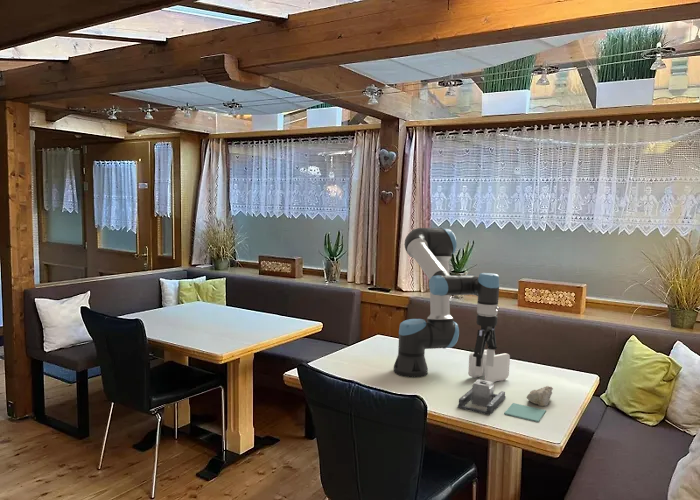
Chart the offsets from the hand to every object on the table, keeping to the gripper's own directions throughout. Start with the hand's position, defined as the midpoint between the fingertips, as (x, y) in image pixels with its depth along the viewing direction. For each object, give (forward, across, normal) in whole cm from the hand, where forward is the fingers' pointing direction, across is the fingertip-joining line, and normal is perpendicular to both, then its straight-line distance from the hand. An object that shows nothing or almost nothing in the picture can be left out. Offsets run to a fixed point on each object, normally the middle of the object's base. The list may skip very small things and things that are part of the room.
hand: (484, 370), depth 199 cm
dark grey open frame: (+13, 0, 0) cm, 13 cm away
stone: (+13, +15, -17) cm, 27 cm away
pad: (+13, 0, -16) cm, 20 cm away
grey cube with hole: (+13, 0, 0) cm, 13 cm away
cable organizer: (+13, +30, +7) cm, 34 cm away
